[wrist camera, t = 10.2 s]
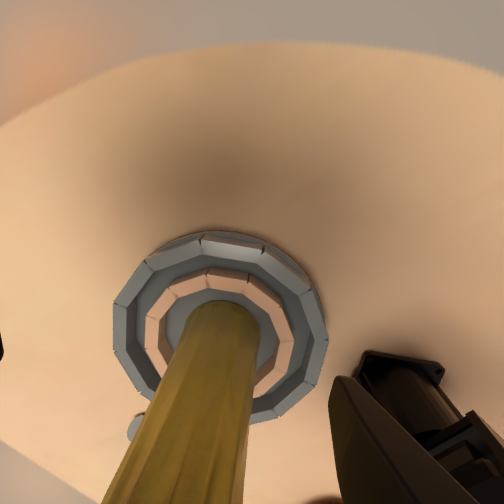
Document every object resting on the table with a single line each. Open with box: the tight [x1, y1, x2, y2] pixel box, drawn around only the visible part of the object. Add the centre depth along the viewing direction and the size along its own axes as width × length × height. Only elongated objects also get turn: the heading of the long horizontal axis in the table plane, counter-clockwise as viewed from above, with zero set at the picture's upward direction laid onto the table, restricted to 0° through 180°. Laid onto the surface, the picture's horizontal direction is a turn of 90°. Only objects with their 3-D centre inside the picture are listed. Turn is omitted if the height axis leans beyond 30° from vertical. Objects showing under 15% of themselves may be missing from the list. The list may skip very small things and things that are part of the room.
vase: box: [101, 301, 260, 504], centre depth 14 cm, size 6×6×14 cm
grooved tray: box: [113, 231, 329, 425], centre depth 21 cm, size 16×16×2 cm
